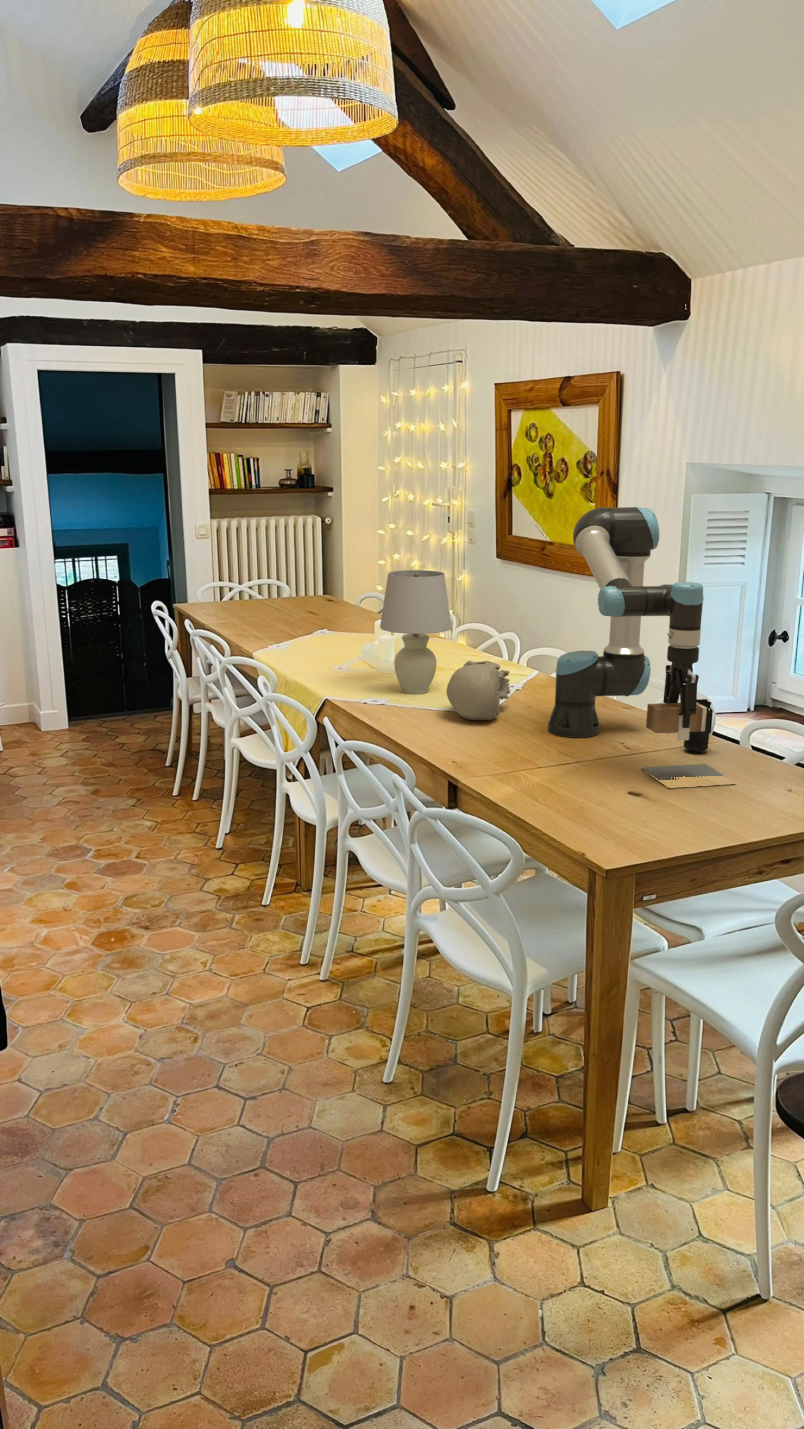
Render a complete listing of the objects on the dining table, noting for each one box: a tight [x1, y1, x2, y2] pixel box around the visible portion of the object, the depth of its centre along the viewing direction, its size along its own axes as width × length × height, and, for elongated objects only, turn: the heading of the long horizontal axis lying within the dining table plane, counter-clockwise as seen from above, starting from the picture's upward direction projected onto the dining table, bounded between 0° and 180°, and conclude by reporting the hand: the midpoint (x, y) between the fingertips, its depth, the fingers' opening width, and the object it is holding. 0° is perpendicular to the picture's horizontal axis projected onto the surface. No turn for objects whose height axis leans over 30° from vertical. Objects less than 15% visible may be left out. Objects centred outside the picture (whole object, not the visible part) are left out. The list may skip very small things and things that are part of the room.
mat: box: [641, 763, 724, 780], centre depth 271 cm, size 16×18×1 cm
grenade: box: [683, 698, 714, 754], centre depth 292 cm, size 7×7×15 cm
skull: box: [446, 660, 511, 721], centre depth 327 cm, size 20×25×20 cm
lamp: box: [379, 569, 452, 695], centre depth 356 cm, size 24×24×40 cm
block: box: [645, 702, 707, 734], centre depth 266 cm, size 6×6×13 cm
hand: (677, 736), depth 267 cm, fingers closed on block, 6 cm apart
